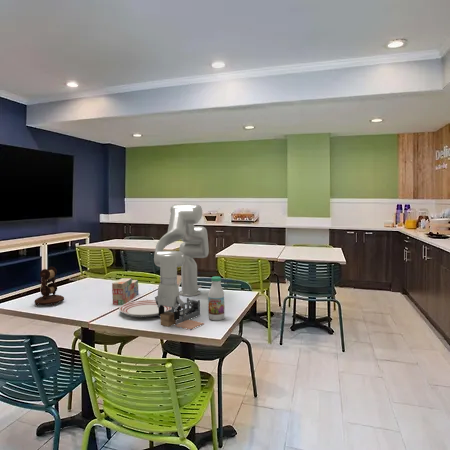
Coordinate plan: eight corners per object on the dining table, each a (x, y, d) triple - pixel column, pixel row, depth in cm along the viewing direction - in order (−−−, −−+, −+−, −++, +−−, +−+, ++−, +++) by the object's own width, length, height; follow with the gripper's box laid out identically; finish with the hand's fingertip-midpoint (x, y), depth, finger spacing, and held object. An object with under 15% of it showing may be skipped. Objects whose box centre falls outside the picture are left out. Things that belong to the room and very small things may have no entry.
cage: (188, 312, 182) (188, 297, 181) (200, 315, 177) (200, 300, 177) (171, 318, 172) (171, 303, 171) (184, 321, 167) (183, 306, 167)
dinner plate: (140, 302, 201) (140, 296, 201) (183, 307, 191) (183, 301, 191) (107, 317, 175) (107, 310, 175) (155, 324, 165) (155, 317, 165)
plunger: (192, 311, 182) (192, 299, 182) (200, 313, 179) (200, 301, 179) (168, 321, 168) (168, 308, 167) (176, 323, 165) (175, 310, 165)
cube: (168, 321, 168) (168, 311, 168) (176, 324, 165) (176, 313, 165) (160, 325, 164) (160, 314, 163) (168, 327, 161) (168, 316, 161)
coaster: (188, 320, 169) (188, 319, 169) (203, 324, 164) (203, 323, 164) (175, 326, 162) (175, 324, 162) (190, 330, 157) (190, 328, 157)
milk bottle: (208, 315, 176) (207, 275, 175) (223, 315, 177) (223, 275, 175) (208, 321, 168) (208, 279, 167) (225, 320, 169) (224, 278, 168)
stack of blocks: (128, 294, 217) (128, 274, 216) (138, 295, 216) (138, 275, 215) (112, 305, 196) (111, 282, 195) (123, 305, 195) (122, 283, 194)
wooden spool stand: (44, 299, 206) (42, 265, 205) (69, 300, 206) (67, 265, 204) (28, 307, 192) (27, 270, 190) (55, 307, 191) (54, 270, 189)
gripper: (149, 279, 165) (149, 316, 166) (177, 284, 156) (177, 323, 156) (161, 277, 172) (161, 312, 173) (188, 281, 162) (188, 318, 163)
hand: (169, 317), depth 164 cm, fingers open, 9 cm apart
